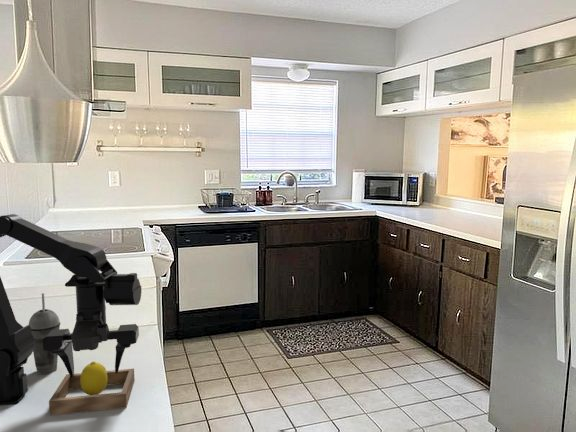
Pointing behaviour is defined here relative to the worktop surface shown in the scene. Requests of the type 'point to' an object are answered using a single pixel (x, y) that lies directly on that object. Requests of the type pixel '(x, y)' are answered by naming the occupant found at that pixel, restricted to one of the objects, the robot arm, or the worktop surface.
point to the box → (91, 402)
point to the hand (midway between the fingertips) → (94, 374)
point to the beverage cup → (40, 329)
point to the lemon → (93, 378)
